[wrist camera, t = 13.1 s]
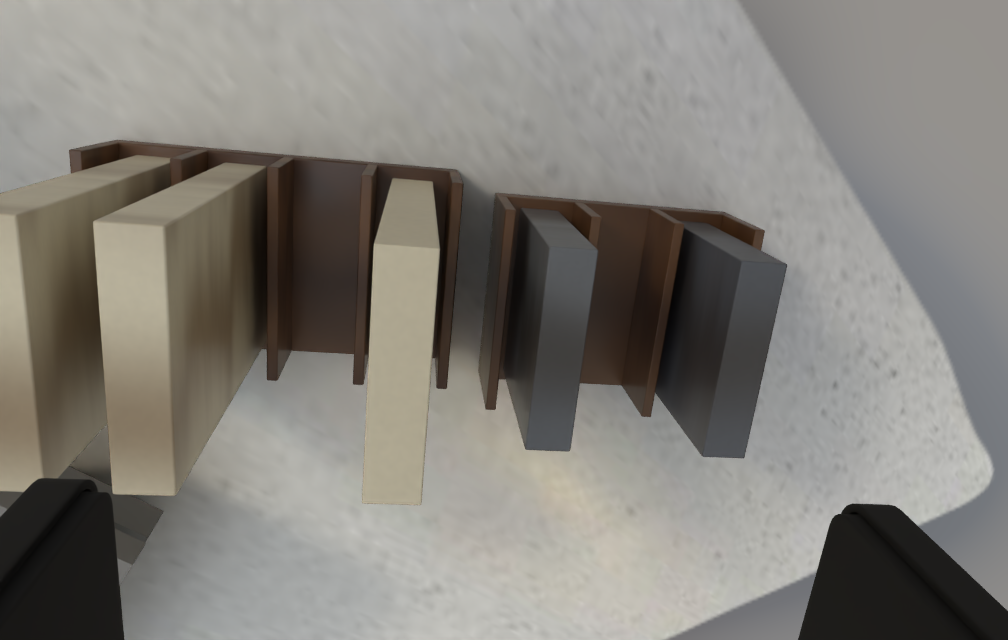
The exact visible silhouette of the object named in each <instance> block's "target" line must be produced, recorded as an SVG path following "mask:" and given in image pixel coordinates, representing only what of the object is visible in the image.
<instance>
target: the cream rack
mask: <svg viewBox="0 0 1008 640" xmlns="http://www.w3.org/2000/svg"><path fill="white" fill-rule="evenodd" d="M69 154H70V166H71V174H68V175H64V176H60V177H57V178H53V179H50V180H46V181H43V182H39V183H35V184H32V185H28V186H25V187H21V188H18V189H14V190H11V191H7V192H3V193H0V491H11V492H24V491H25V490H26V489H27V488H28V487H29V486H30V485H31V484H32V483H33V482H35V481H36V480H37V479H40V478H58V477H59V476H60V475H61V474H62V473H63V472H64V471H65V470H66V468H67V467H68V466H69V465H70V464H71V463H72V462H73V461H74V460H75V459H76V457H77V456H78V455H79V454H80V453H81V452H82V451H83V450H84V449H85V447H86V446H87V445H88V444H89V443H90V442H91V441H92V440H93V439H94V437H95V436H96V435H97V434H98V433H99V432H100V431H101V430H102V429H103V427H104V426H105V425H106V424H107V423H108V437H109V451H110V465H111V479H112V492H113V494H120V495H155V496H176V495H177V493H178V491H179V490H180V488H181V486H182V484H183V483H184V481H185V479H186V478H187V476H188V474H189V472H190V471H191V469H192V467H193V466H194V464H195V462H196V460H197V459H198V457H199V455H200V454H201V452H202V450H203V448H204V447H205V445H206V443H207V442H208V440H209V438H210V436H211V435H212V433H213V431H214V430H215V428H216V426H217V425H218V423H219V421H220V419H221V418H222V416H223V414H224V413H225V411H226V409H227V407H228V406H229V404H230V402H231V401H232V399H233V397H234V395H235V394H236V392H237V390H238V389H239V387H240V385H241V383H242V382H243V380H244V378H245V377H246V375H247V373H248V371H249V370H250V368H251V366H252V365H253V363H254V361H255V359H256V358H257V356H258V354H259V353H260V351H261V349H267V380H273V381H277V380H278V378H279V376H280V374H281V372H282V370H283V368H284V365H285V363H286V361H287V359H288V357H289V355H290V353H291V351H308V352H326V353H345V354H354V370H353V384H356V385H363V384H364V379H365V373H366V368H367V363H368V357H369V338H370V316H371V294H372V272H373V250H374V242H375V239H376V235H377V232H378V228H379V224H380V221H381V217H382V214H383V210H384V207H385V203H386V200H387V196H388V192H389V189H390V185H391V182H392V179H393V178H397V179H409V180H420V181H432V182H433V188H434V198H435V207H436V216H437V226H438V235H439V245H440V257H439V271H438V284H437V298H436V312H435V325H434V339H433V352H432V358H435V366H436V387H437V388H438V389H446V388H447V379H448V367H449V354H450V342H451V330H452V318H453V305H454V293H455V281H456V269H457V256H458V244H459V232H460V219H461V207H462V195H463V182H462V180H461V177H460V174H459V172H458V170H453V169H442V168H431V167H419V166H408V165H396V164H385V163H374V162H362V161H351V160H340V159H328V158H317V157H305V156H294V155H283V154H271V153H260V152H248V151H237V150H226V149H214V148H203V147H192V146H180V145H169V144H157V143H146V142H135V141H123V140H114V141H110V142H104V143H99V144H94V145H90V146H85V147H80V148H76V149H71V150H69Z"/></svg>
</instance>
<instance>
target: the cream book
mask: <svg viewBox="0 0 1008 640" xmlns="http://www.w3.org/2000/svg"><path fill="white" fill-rule="evenodd" d="M439 257H440V245H439V235H438V226H437V216H436V207H435V198H434V188H433V182H432V181H420V180H409V179H397V178H393V179H392V182H391V185H390V189H389V192H388V196H387V200H386V203H385V207H384V210H383V214H382V217H381V221H380V224H379V228H378V232H377V235H376V239H375V242H374V250H373V272H372V294H371V316H370V338H369V361H368V383H367V405H366V427H365V449H364V471H363V493H362V503H364V504H401V505H421V502H422V488H423V475H424V461H425V447H426V434H427V420H428V407H429V393H430V379H431V366H432V352H433V339H434V325H435V312H436V298H437V284H438V271H439Z"/></svg>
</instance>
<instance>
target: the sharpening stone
mask: <svg viewBox="0 0 1008 640" xmlns="http://www.w3.org/2000/svg"><path fill="white" fill-rule="evenodd" d="M58 478H59V479H90V480H92V481H93V482H95V484H96V486H97V489H98V492H107V493H109V494H110V496H111V498H112V504H113V515H114V526H115V538H116V550H117V562H118V573H119V585H120V584H121V583H122V581H123V580H124V578H125V576H126V575H127V573H128V572H129V570H130V569H131V567H132V565H133V564H134V562H135V560H136V559H137V557H138V555H139V554H140V552H141V550H142V549H143V547H144V545H145V542H146V540H147V538H148V537H149V535H150V533H151V532H152V530H153V528H154V527H155V525H156V523H157V522H158V520H159V518H160V517H161V515H162V513H163V511H162V510H160V509H158V508H156V507H154V506H151V505H149V504H147V503H145V502H143V501H141V500H139V499H137V498H135V497H133V496H130V495H120V494H113V492H112V487H111V486H109V485H107V484H105V483H103V482H101V481H99V480H97V479H95V478H93V477H90V476H88V475H86V474H84V473H82V472H80V471H78V470H76V469H74V468H72V467H69V466H68V467H67V468H66V470H65V471H64V472H63V473H62V474H61V475H60V476H59V477H58ZM22 494H23V492H11V491H0V517H1V516H2V514H3V513H4V512H5V511H6V510H7V509H8V508H9V507H10V506H11V505H12V504H13V503H14V502H15V501H16V500H17V499H18V498H19V497H20V496H21V495H22Z"/></svg>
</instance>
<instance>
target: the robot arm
mask: <svg viewBox="0 0 1008 640" xmlns="http://www.w3.org/2000/svg"><path fill="white" fill-rule="evenodd" d="M0 640H124V632H123V620H122V609H121V597H120V585H119V573H118V562H117V550H116V538H115V526H114V515H113V504H112V498H111V496H110V494H109V493H107V492H98V489H97V486H96V484H95V482H93V481H92V480H90V479H59V478H40V479H37V480H36V481H35V482H33V483H32V484H31V485H30V486H29V487H28V488H27V489H26V490H25V491H24V492H23V494H22V495H21V496H20V497H19V498H18V499H17V500H16V501H15V502H14V503H13V504H12V505H11V506H10V507H9V508H8V509H7V510H6V511H5V512H4V513H3V514H2V516H1V517H0ZM798 640H1008V611H1007V610H1006V609H1005V608H1004V607H1003V606H1002V605H1001V604H1000V603H999V602H997V600H995V599H994V598H993V597H992V596H991V595H990V594H989V593H988V592H987V591H986V590H985V589H984V588H983V587H982V586H981V585H980V584H978V583H977V582H976V581H975V580H974V579H973V578H972V577H971V576H970V575H969V574H968V573H967V572H966V571H965V570H964V569H963V568H961V566H959V565H958V564H957V563H956V562H955V561H954V560H953V559H952V558H951V557H950V556H949V555H948V554H947V553H946V552H945V551H944V550H943V549H941V548H940V547H939V546H938V545H937V544H936V543H935V542H934V541H933V540H932V539H931V538H930V537H929V536H928V535H927V534H925V533H924V532H923V531H922V530H921V529H920V528H919V527H918V526H917V525H916V524H915V523H914V522H913V521H912V520H911V519H910V518H909V517H908V516H907V515H905V514H904V513H903V512H902V511H901V510H900V509H898V508H897V507H895V506H892V505H878V504H850V505H848V506H846V507H845V509H844V510H843V511H842V513H841V514H838V515H835V516H834V518H833V519H832V521H831V523H830V526H829V530H828V533H827V537H826V540H825V544H824V548H823V551H822V555H821V559H820V562H819V566H818V569H817V573H816V577H815V580H814V584H813V588H812V591H811V595H810V599H809V602H808V606H807V610H806V613H805V617H804V621H803V624H802V628H801V631H800V635H799V638H798Z"/></svg>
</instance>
